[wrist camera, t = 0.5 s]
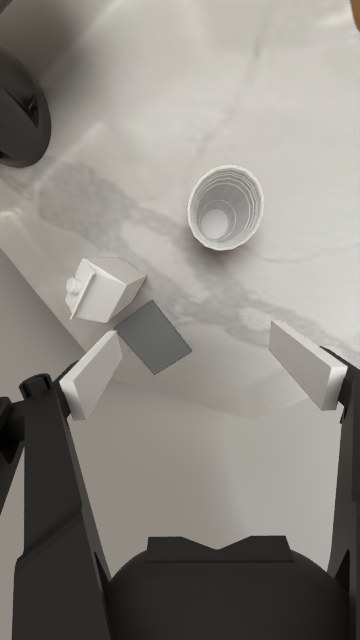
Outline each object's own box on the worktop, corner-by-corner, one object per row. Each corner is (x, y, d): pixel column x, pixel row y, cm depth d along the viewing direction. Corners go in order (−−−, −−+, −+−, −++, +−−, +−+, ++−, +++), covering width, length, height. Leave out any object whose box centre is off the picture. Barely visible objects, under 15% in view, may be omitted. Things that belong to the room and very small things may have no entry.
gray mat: (114, 327, 45) (113, 328, 45) (152, 299, 43) (151, 300, 42) (154, 372, 49) (154, 374, 49) (191, 350, 47) (191, 351, 46)
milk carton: (147, 275, 41) (117, 290, 23) (132, 301, 43) (94, 333, 25) (119, 257, 40) (64, 257, 22) (105, 284, 42) (45, 305, 24)
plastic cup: (190, 189, 36) (192, 158, 24) (246, 195, 36) (273, 167, 24) (184, 249, 39) (182, 246, 28) (234, 255, 39) (254, 254, 28)
